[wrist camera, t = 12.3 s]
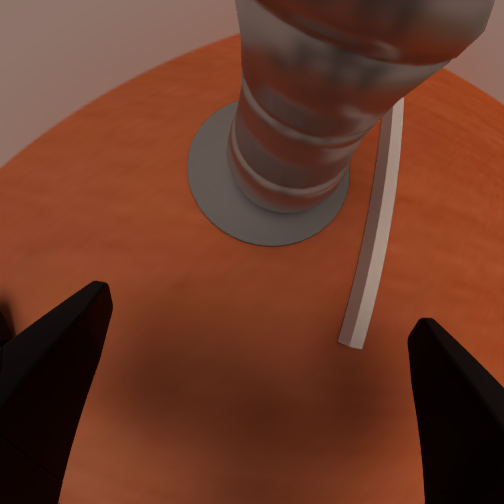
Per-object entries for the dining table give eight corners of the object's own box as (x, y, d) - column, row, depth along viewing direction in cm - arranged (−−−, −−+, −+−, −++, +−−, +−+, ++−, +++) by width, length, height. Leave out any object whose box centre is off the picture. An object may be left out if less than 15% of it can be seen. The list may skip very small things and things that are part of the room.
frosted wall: (383, 95, 20) (394, 81, 19) (393, 99, 21) (404, 85, 19) (337, 341, 18) (349, 346, 16) (349, 344, 18) (361, 349, 16)
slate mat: (376, 178, 20) (378, 176, 19) (264, 282, 18) (264, 282, 18) (273, 77, 20) (274, 74, 20) (156, 159, 19) (155, 157, 18)
